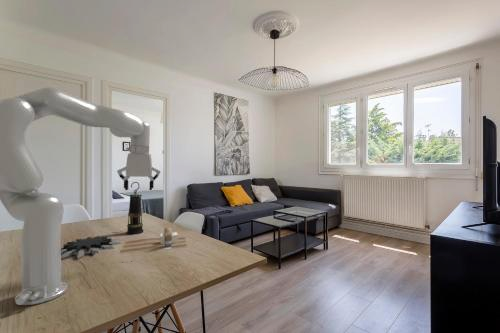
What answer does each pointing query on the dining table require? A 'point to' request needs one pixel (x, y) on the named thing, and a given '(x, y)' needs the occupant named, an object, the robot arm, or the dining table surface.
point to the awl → (167, 236)
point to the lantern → (135, 214)
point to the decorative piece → (86, 246)
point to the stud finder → (174, 240)
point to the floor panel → (150, 245)
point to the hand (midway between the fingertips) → (138, 190)
